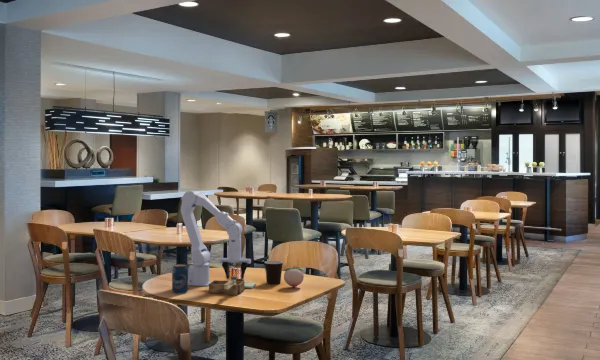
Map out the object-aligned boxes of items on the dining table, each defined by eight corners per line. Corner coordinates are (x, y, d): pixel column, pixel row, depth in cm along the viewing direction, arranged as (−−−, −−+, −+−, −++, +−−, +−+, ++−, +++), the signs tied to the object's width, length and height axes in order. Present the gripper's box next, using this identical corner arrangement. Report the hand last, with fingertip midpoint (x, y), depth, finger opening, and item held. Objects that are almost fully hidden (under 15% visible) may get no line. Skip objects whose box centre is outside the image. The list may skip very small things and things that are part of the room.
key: (222, 289, 237) (222, 284, 237) (229, 283, 247) (229, 279, 247) (229, 289, 237) (229, 284, 237) (235, 284, 247) (235, 279, 247)
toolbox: (207, 294, 249) (207, 283, 249) (215, 288, 262) (215, 277, 262) (238, 295, 247) (238, 285, 247) (245, 289, 260) (245, 278, 260)
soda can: (172, 294, 249) (171, 266, 249) (172, 290, 256) (172, 264, 256) (188, 293, 251) (188, 266, 250) (188, 290, 258) (188, 263, 257)
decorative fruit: (285, 289, 258) (285, 267, 258) (282, 286, 266) (282, 264, 266) (305, 289, 260) (305, 267, 259) (302, 285, 268) (302, 263, 267)
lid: (222, 288, 263) (222, 277, 262) (227, 284, 270) (227, 274, 270) (252, 289, 260) (252, 278, 260) (256, 285, 268) (256, 275, 268)
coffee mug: (280, 285, 267) (280, 264, 267) (262, 284, 269) (262, 263, 268) (286, 280, 278) (286, 259, 278) (268, 279, 280) (268, 259, 280)
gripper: (217, 250, 263) (217, 279, 263) (248, 251, 261) (248, 280, 261) (221, 247, 270) (221, 276, 270) (251, 248, 268) (251, 277, 268)
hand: (235, 278), depth 266 cm, fingers open, 6 cm apart
